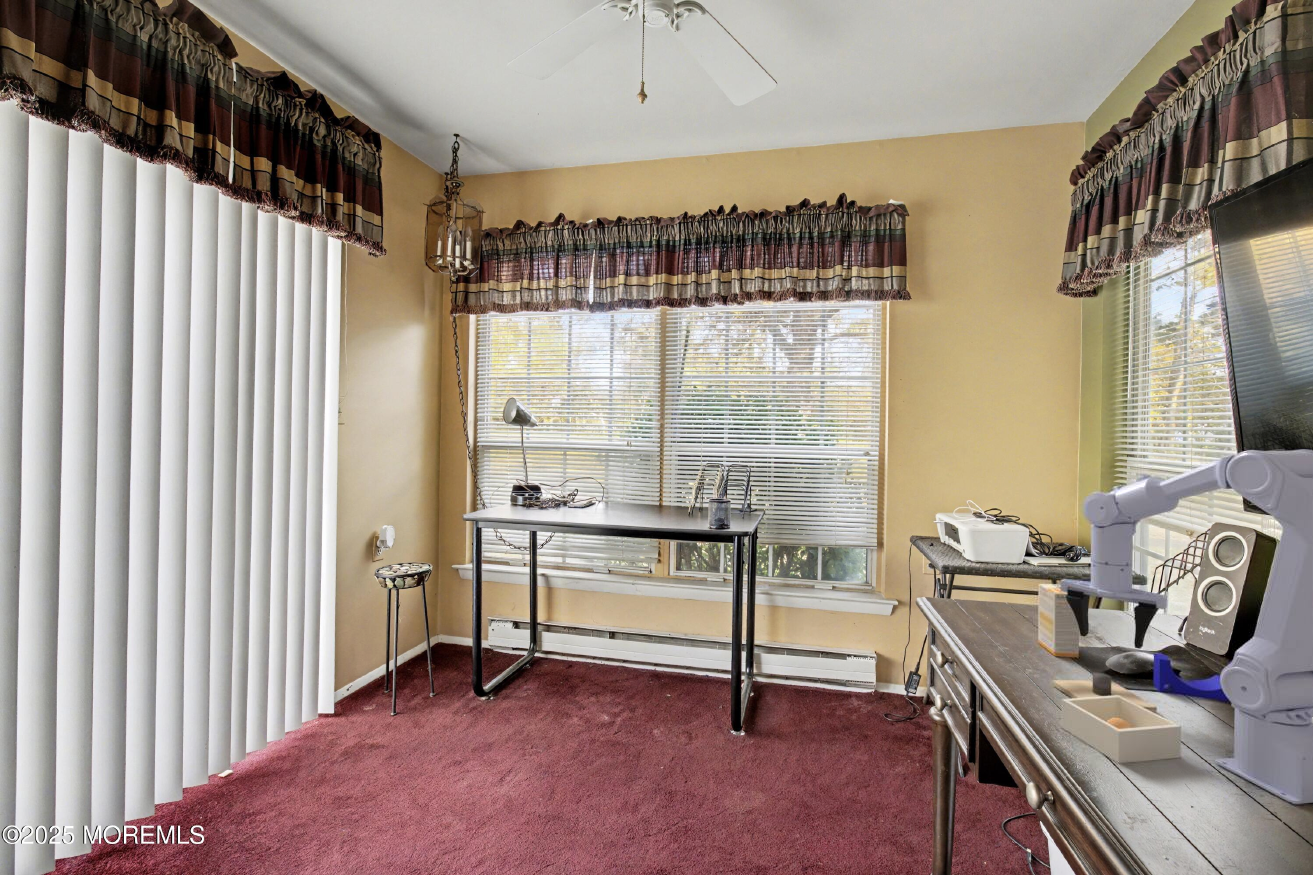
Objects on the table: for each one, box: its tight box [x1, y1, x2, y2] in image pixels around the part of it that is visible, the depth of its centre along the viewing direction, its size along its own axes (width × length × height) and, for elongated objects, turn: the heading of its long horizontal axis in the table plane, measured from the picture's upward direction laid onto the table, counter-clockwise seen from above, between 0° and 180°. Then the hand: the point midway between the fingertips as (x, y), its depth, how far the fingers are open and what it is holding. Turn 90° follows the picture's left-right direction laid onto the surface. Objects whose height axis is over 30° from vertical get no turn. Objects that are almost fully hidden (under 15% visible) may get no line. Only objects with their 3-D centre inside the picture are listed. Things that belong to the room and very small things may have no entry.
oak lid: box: [1051, 672, 1158, 713], centre depth 104 cm, size 10×10×4 cm
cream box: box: [1060, 695, 1182, 764], centre depth 90 cm, size 10×10×4 cm
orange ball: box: [1107, 718, 1130, 729], centre depth 90 cm, size 3×3×3 cm
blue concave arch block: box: [1153, 652, 1232, 703], centre depth 106 cm, size 12×4×6 cm, turn 66°
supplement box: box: [1037, 583, 1080, 659], centre depth 126 cm, size 8×5×13 cm, turn 168°
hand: (1110, 640), depth 104 cm, fingers open, 7 cm apart
